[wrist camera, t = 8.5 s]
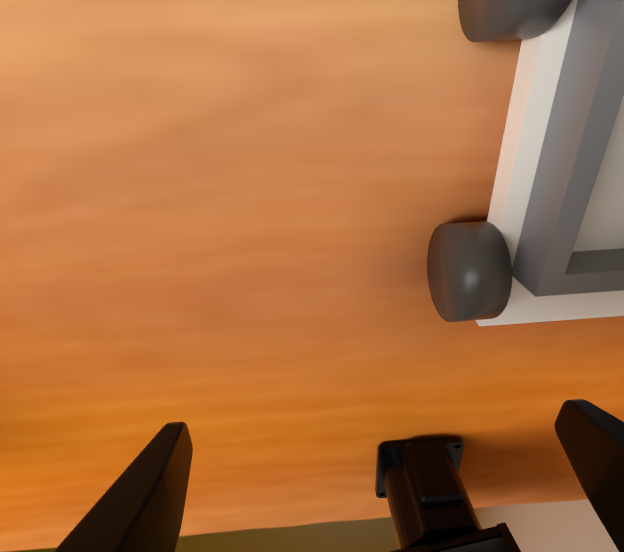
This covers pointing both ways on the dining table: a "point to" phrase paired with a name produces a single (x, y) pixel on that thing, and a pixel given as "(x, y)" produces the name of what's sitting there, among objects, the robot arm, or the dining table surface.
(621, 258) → the car chassis
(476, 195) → the dining table surface
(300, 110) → the dining table surface
